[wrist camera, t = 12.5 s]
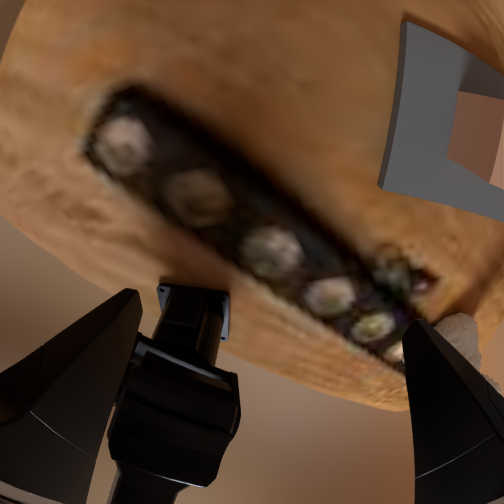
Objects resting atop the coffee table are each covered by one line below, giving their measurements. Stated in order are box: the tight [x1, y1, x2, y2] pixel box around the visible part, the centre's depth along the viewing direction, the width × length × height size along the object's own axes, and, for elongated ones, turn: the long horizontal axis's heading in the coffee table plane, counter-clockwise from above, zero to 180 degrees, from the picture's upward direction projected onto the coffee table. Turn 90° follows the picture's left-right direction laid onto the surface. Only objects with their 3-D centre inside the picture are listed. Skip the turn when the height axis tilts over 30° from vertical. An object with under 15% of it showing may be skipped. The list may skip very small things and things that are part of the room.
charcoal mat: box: [377, 21, 504, 222], centre depth 13 cm, size 12×14×1 cm
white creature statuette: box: [401, 313, 500, 393], centre depth 20 cm, size 10×9×12 cm
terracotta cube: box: [446, 91, 504, 190], centre depth 11 cm, size 5×5×5 cm
